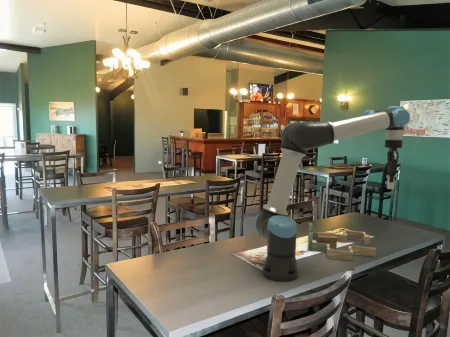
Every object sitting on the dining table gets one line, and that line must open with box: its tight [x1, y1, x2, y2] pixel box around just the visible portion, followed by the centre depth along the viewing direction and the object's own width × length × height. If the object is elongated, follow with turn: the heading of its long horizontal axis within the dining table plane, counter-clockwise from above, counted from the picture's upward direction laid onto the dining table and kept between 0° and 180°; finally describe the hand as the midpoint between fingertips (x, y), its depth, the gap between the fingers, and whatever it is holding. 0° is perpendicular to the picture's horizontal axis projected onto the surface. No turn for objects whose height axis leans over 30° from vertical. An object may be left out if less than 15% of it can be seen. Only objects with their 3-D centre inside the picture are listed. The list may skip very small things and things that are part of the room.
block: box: [315, 231, 338, 250], centre depth 186 cm, size 9×9×6 cm
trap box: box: [307, 222, 377, 262], centre depth 183 cm, size 36×32×9 cm
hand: (390, 188), depth 171 cm, fingers closed
